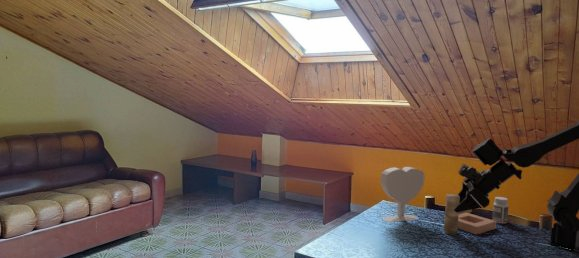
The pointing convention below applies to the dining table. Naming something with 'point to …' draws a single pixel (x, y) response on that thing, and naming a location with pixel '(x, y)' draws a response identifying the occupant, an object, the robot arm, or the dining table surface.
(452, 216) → the beech peg
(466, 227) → the socket collar
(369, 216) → the dining table surface
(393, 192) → the heart sculpture
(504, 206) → the pill bottle
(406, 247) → the dining table surface
